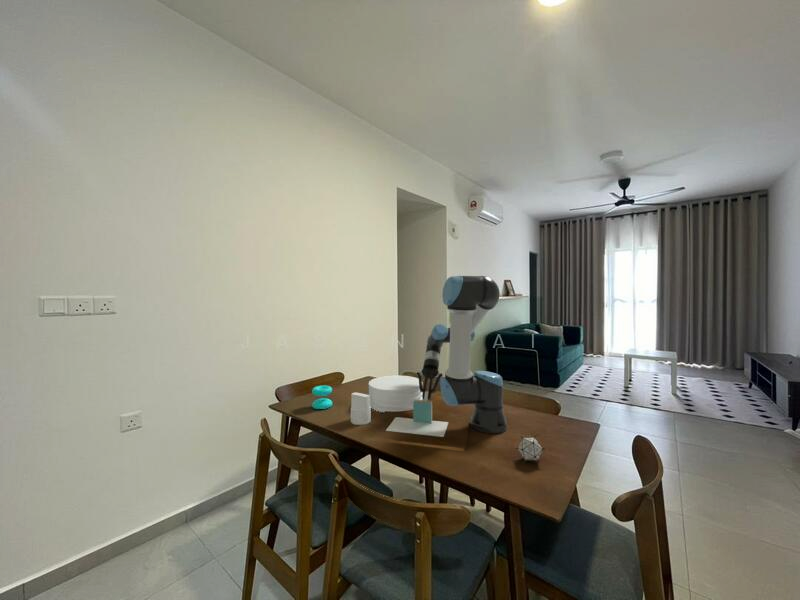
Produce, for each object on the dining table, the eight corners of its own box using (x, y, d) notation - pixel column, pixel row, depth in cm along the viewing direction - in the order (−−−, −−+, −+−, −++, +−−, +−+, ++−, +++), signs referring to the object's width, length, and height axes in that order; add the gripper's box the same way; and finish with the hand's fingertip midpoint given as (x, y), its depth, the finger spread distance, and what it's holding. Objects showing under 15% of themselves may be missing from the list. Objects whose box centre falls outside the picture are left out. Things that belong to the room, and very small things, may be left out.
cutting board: (448, 424, 144) (448, 422, 144) (443, 439, 130) (443, 436, 130) (395, 419, 151) (395, 417, 151) (385, 432, 136) (385, 430, 136)
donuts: (308, 387, 168) (324, 383, 175) (308, 407, 168) (325, 402, 175) (319, 391, 161) (336, 387, 168) (319, 412, 161) (336, 406, 168)
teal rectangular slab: (432, 421, 146) (432, 401, 145) (431, 423, 143) (431, 403, 143) (414, 419, 148) (414, 399, 148) (413, 421, 145) (413, 401, 145)
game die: (531, 468, 115) (542, 441, 118) (541, 472, 107) (553, 443, 110) (508, 454, 117) (519, 427, 120) (516, 456, 109) (528, 428, 112)
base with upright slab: (374, 419, 151) (374, 393, 151) (361, 426, 143) (361, 399, 143) (359, 415, 156) (359, 390, 156) (346, 421, 148) (346, 395, 148)
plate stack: (405, 418, 153) (404, 393, 153) (357, 407, 168) (357, 385, 167) (431, 400, 177) (431, 379, 176) (388, 392, 191) (388, 373, 191)
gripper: (445, 366, 168) (440, 410, 152) (420, 365, 171) (412, 408, 155) (443, 358, 162) (438, 403, 147) (417, 357, 166) (410, 400, 150)
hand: (425, 405), depth 151 cm, fingers closed
